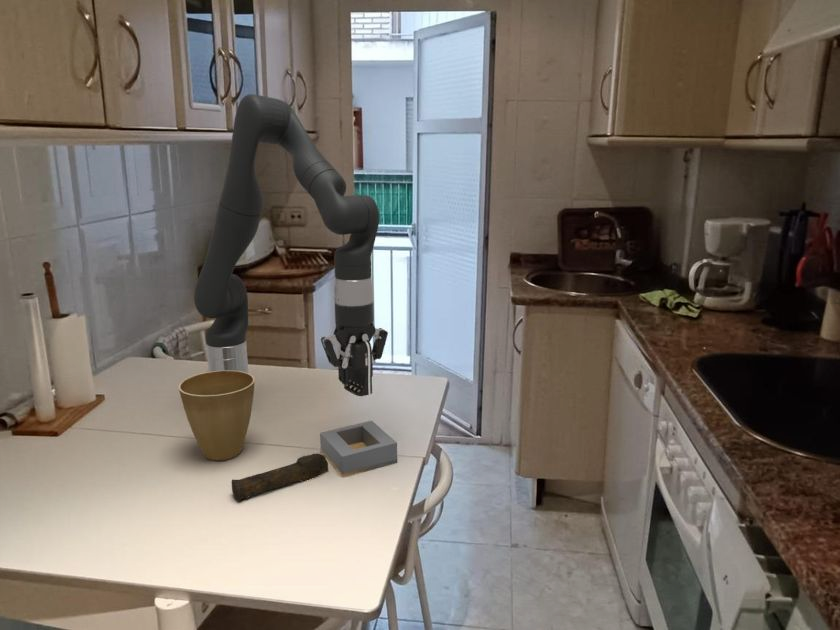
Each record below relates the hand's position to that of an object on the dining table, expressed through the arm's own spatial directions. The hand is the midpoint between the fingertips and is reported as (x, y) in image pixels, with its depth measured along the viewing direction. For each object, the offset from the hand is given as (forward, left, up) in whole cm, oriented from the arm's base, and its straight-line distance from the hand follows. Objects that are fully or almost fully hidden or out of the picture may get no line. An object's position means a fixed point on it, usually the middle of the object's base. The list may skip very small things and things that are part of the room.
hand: (356, 381), depth 127 cm
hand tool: (-17, -2, -17) cm, 25 cm away
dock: (0, 0, -17) cm, 17 cm away
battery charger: (0, 0, -2) cm, 2 cm away
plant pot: (-24, +16, -17) cm, 33 cm away
